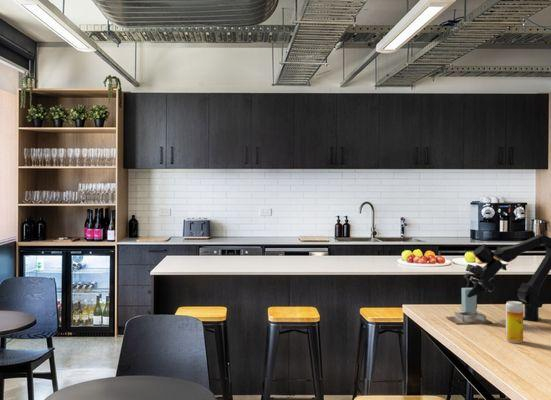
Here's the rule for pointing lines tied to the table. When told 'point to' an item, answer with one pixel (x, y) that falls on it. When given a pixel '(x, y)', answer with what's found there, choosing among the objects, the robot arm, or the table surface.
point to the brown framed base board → (469, 318)
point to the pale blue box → (468, 301)
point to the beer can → (514, 322)
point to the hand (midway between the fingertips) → (465, 295)
